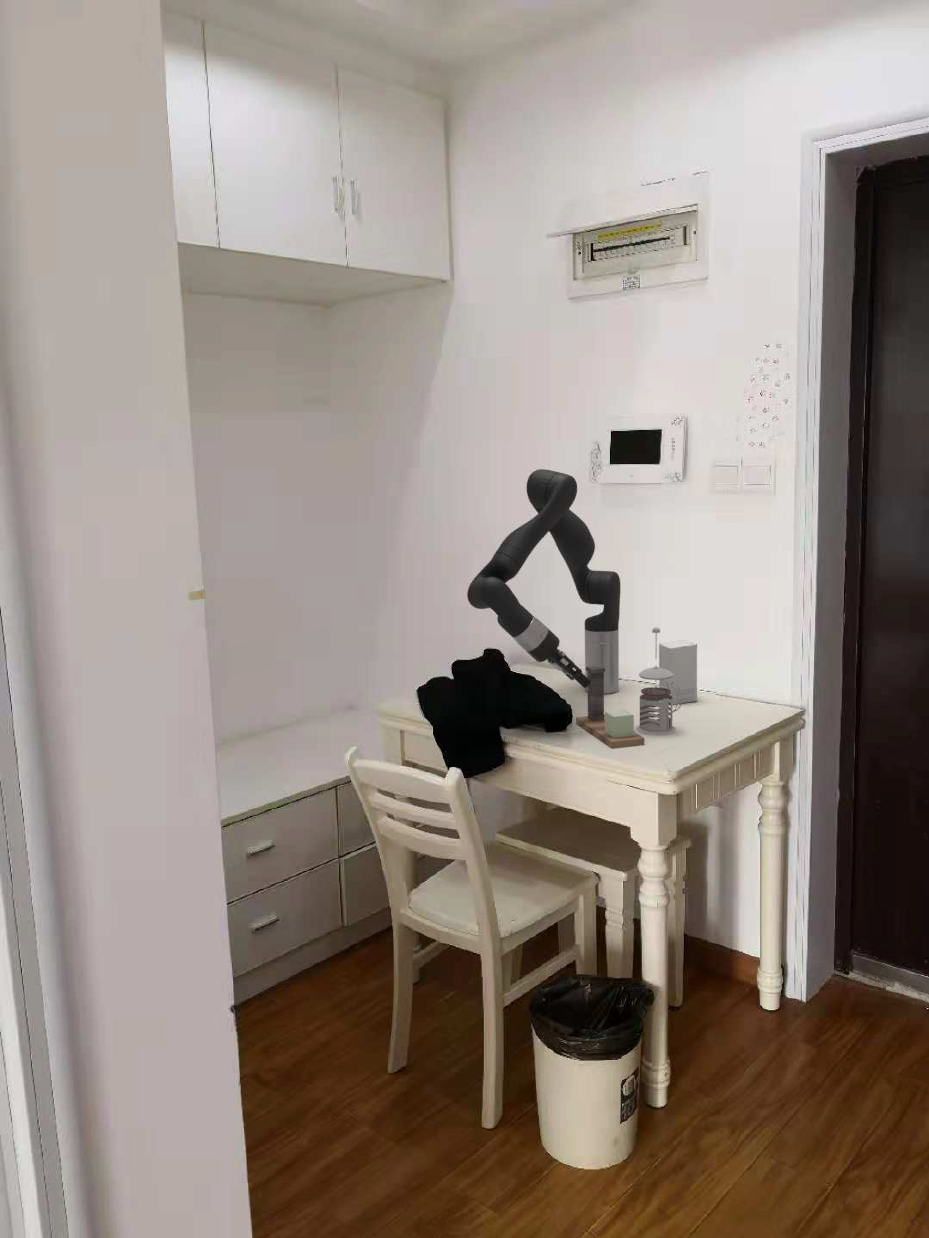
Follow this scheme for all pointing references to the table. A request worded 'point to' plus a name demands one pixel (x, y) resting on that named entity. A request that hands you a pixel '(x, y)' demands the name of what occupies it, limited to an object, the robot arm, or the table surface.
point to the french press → (656, 702)
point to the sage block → (619, 723)
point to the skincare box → (679, 669)
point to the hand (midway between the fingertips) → (581, 681)
